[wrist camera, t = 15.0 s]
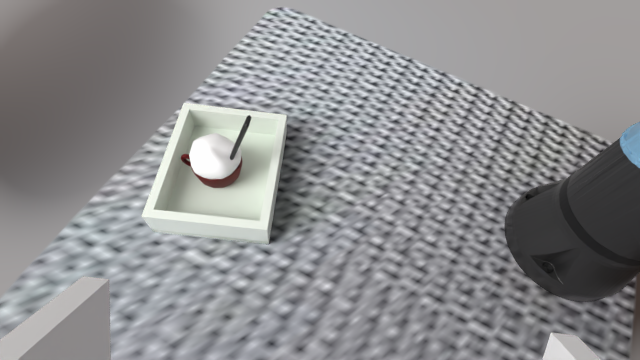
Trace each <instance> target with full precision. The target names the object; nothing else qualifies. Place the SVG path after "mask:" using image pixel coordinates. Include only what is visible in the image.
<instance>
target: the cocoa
mask: <svg viewBox="0 0 640 360" xmlns="http://www.w3.org/2000/svg"><path fill="white" fill-rule="evenodd" d="M251 118H252V117H251V116H250V115H248V116H247V117H246V120H245V122H244V124H243V126H242V129H241V131H240V133H239V135H238V138H237V140H236V142H235V143H234V142H232V141H231V140H229V139H228V138H227V137H224V136H222V135H220V134H218V133H214V134H209V135H206V136H202V137H199V138H198V139H196V140H195V141H193V144H192V147H191V150H190V154H183V155H182V156H181V160H182V162H183V163H185V164H186V165H188V166H190V167H191V168H192V171H193V173H194V174H195V175H196V176H197V178H198V179H199V180H200V181H201V182H202V183H203V184H205V185H206V186H209V187H212V188H224V187H226V186H228V185H231V184H233V183H234V182H235V180H236V179H237V178H238V177H239V175H240V171H241V167H242V156H241V148H240V144H241V142H242V140H243V138H244V136H245V134H246V131H247V129H248V127H249V124H250V121H251ZM187 159H189V160H190V161H188V160H187Z"/></svg>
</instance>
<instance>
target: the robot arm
mask: <svg viewBox="0 0 640 360" xmlns="http://www.w3.org/2000/svg"><path fill="white" fill-rule="evenodd" d="M505 235H506V240H507V243H508V246H509V249H510V251H511V253H512V255H513V257H514V258H515V260H516V262H517V263H518V264H519V266H520V267H521V268H522V270H523V271H524V272H525V273H526V274H527V275H528V276H529V277H530V278H531V279H532V280H533V281H534V282H536V283H537V284H538V285H540V286H541V287H542V288H544V289H545V290H547V291H549V292H551V293H553V294H555V295H557V296H559V297H562V298H565V299H568V300H572V301H579V302H589V301H595V300H599V299H602V298H605V297H608V296H611V295H614V294H616V293H617V292H619V291H621V290H622V289H623V288H624V287H625V286H626V285H627V284H628V283H629V282H630V281H631V280H632V279H633V278H634V277H635V276H636V275H637V274H638V273H639V272H640V122H638V123H636V124H634V125H632V126H630V127H629V128H628V129H626V131H624V132H623V133H622V136H621V138H619V139H618V140H617V141H615V142H614V143H613V144H612V145H610V146H609V147H608V148H606V149H605V150H604V151H602V152H601V153H600V154H598V155H597V156H596V157H594V158H593V159H592V160H590V161H589V162H588V163H586V164H585V165H584V166H582V167H581V168H580V169H578V170H577V171H576V172H575V173H573V174H572V175H571V176H570V177H568V178H566V179H563V180H560V181H556V182H553V183H549V184H546V185H543V186H539V187H536V188H533V189H531V190H529V191H528V192H526V193H525V194H523V195H522V196H521V197H520V198H519V199H517V200H516V201H515V202H514V203H513V204H512V205H511V207H510V208H509V210H508V212H507V215H506V219H505ZM110 359H111V346H110V296H109V279H101V278H92V277H84V276H83V277H81V278H80V279H79V280H78V281H76V282H75V283H74V284H72V285H71V286H70V287H68V288H67V289H66V290H65V291H63V292H62V293H61V294H59V295H58V296H57V297H55V298H54V299H53V300H51V301H50V302H49V303H48V304H46V305H45V306H44V307H42V308H41V309H40V310H38V311H37V312H36V313H35V314H33V315H32V316H31V317H29V318H28V319H27V320H25V321H24V322H23V323H21V324H20V325H19V326H18V327H16V328H15V329H14V330H12V331H11V332H10V333H8V334H7V335H6V336H5V337H3V338H2V339H1V340H0V360H110ZM542 360H601V359H600V358H599V357H598V356H597V355H596V354H595V353H594V352H593V351H592V350H591V349H590V348H589V347H588V346H587V345H586V344H585V343H584V342H583V341H582V340H581V339H580V338H579V337H578V336H576V335H568V334H560V333H551V335H550V338H549V341H548V344H547V347H546V350H545V353H544V356H543V359H542Z"/></svg>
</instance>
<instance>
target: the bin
mask: <svg viewBox="0 0 640 360" xmlns="http://www.w3.org/2000/svg"><path fill="white" fill-rule="evenodd" d="M248 115H250V116H251V117H252V118H251V121H250V124H249V127H248V129H247V131H246V134H245V136H244V138H243V140H242V142H241V144H240V148H241V156H242V167H241V171H240V175H239V177H238V178H237V179H236V180H235V182H234V183H233V184H231V185H228V186H226V187H224V188H212V187H209V186H206V185H205V184H203V183H202V182H201V181H200V180H199V179H198V178H197V176H196V175H195V174H194V173H193V171H192V168H191V167H190V166H188V165H186V164H185V163H183V162H182V160H181V156H182V155H183V154H190V150H191V147H192V144H193V141H195V140H196V139H198V138H199V137H202V136H206V135H209V134H214V133H218V134H220V135H222V136H224V137H227V138H228V139H229V140H231V141H232V142H234V143H235V142H236V140H237V138H238V135H239V133H240V131H241V129H242V126H243V124H244V122H245V120H246V117H247V116H248ZM286 136H287V115H282V114H274V113H265V112H257V111H248V110H240V109H231V108H223V107H214V106H206V105H197V104H189V103H184V104H183V106H182V109H181V112H180V114H179V117H178V120H177V122H176V125H175V128H174V130H173V133H172V136H171V138H170V141H169V144H168V146H167V149H166V152H165V155H164V157H163V160H162V163H161V165H160V168H159V171H158V173H157V176H156V179H155V181H154V184H153V187H152V189H151V192H150V195H149V198H148V200H147V203H146V206H145V208H144V211H143V214H142V216H141V217H142V218H143V219H144V220H145V222H146V223H147V224H148V225H149V227H150V228H151V229H152V230H153V232H157V233H166V234H175V235H185V236H194V237H203V238H213V239H222V240H231V241H241V242H250V243H259V244H269V240H270V234H271V228H272V222H273V215H274V209H275V203H276V197H277V191H278V185H279V179H280V173H281V167H282V161H283V154H284V148H285V142H286ZM187 160H188V161H190V160H189V159H187Z"/></svg>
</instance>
